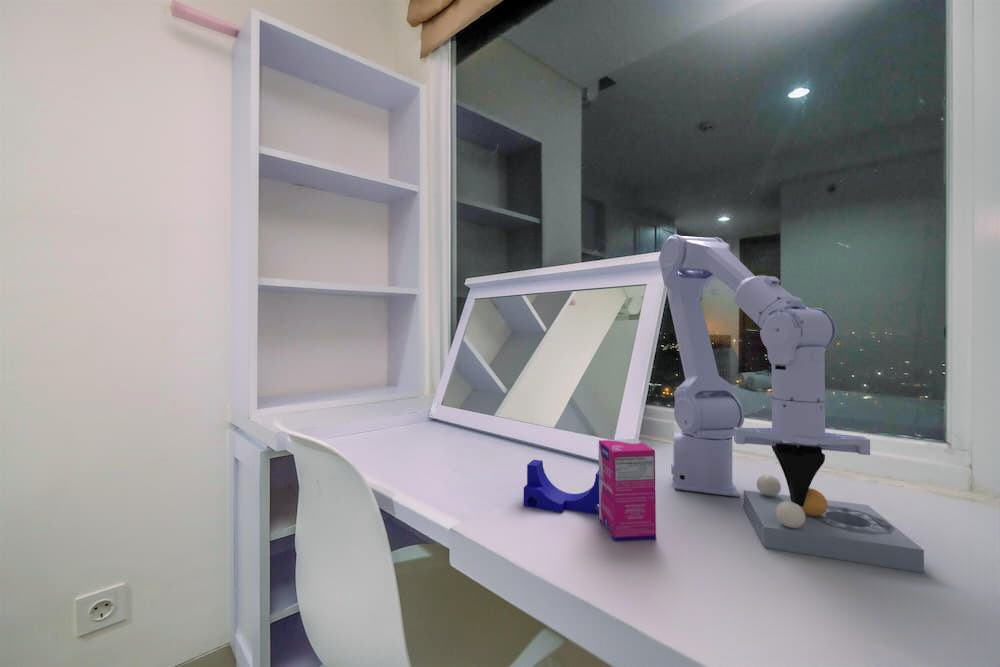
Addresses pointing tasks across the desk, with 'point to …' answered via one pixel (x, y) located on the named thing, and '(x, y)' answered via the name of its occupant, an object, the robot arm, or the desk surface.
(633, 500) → the supplement box
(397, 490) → the desk surface
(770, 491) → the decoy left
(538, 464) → the blue curved bracket
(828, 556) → the grey socket plate
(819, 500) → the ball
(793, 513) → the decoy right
